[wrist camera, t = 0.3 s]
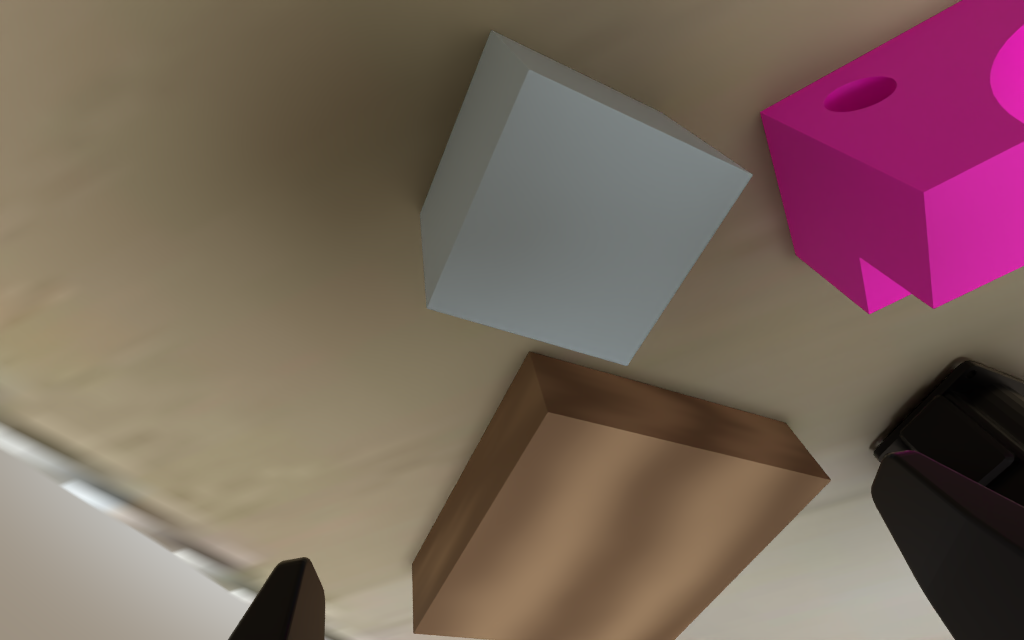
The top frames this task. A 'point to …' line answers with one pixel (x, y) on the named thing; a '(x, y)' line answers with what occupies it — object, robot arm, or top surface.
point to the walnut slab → (604, 511)
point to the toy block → (911, 160)
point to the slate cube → (567, 207)
